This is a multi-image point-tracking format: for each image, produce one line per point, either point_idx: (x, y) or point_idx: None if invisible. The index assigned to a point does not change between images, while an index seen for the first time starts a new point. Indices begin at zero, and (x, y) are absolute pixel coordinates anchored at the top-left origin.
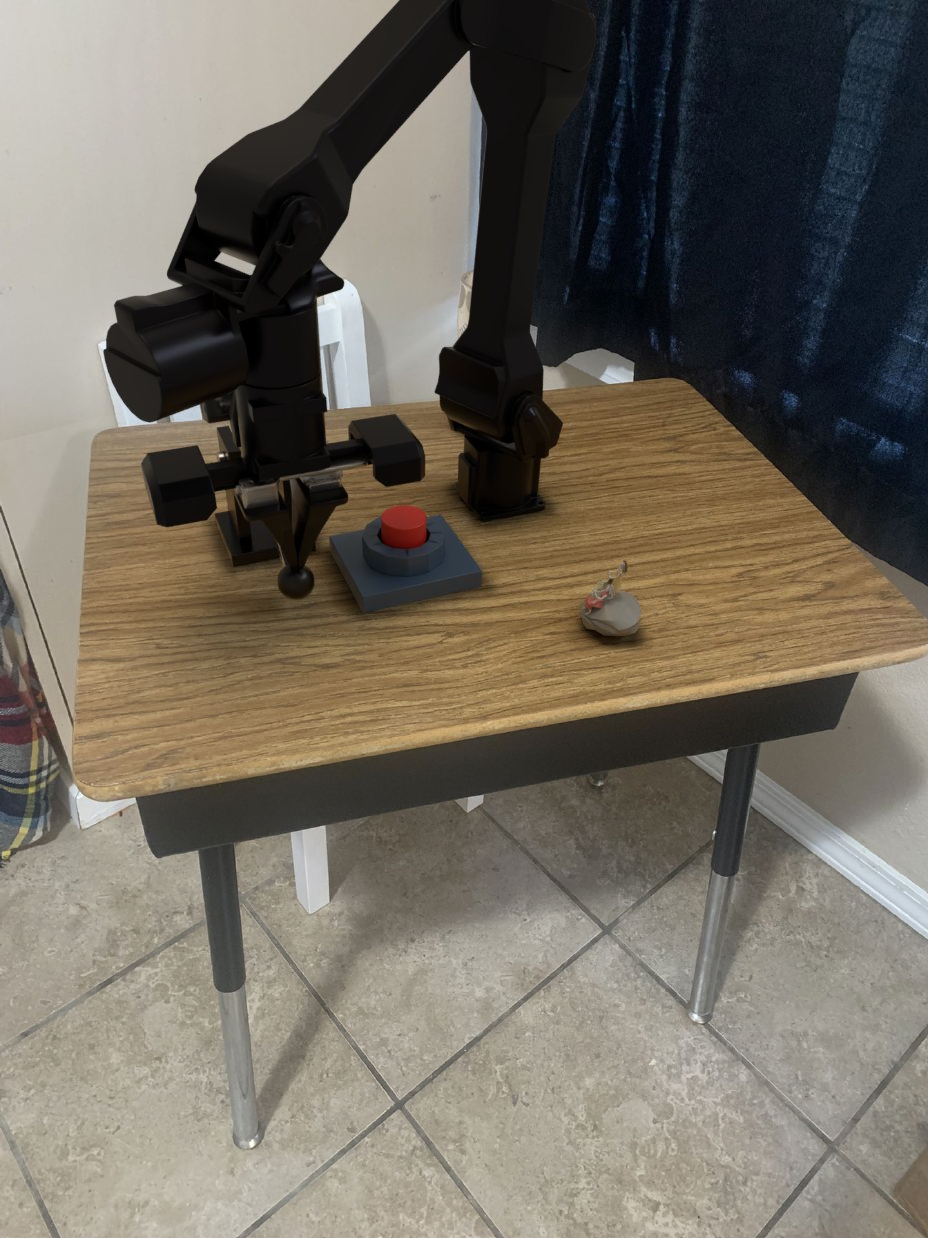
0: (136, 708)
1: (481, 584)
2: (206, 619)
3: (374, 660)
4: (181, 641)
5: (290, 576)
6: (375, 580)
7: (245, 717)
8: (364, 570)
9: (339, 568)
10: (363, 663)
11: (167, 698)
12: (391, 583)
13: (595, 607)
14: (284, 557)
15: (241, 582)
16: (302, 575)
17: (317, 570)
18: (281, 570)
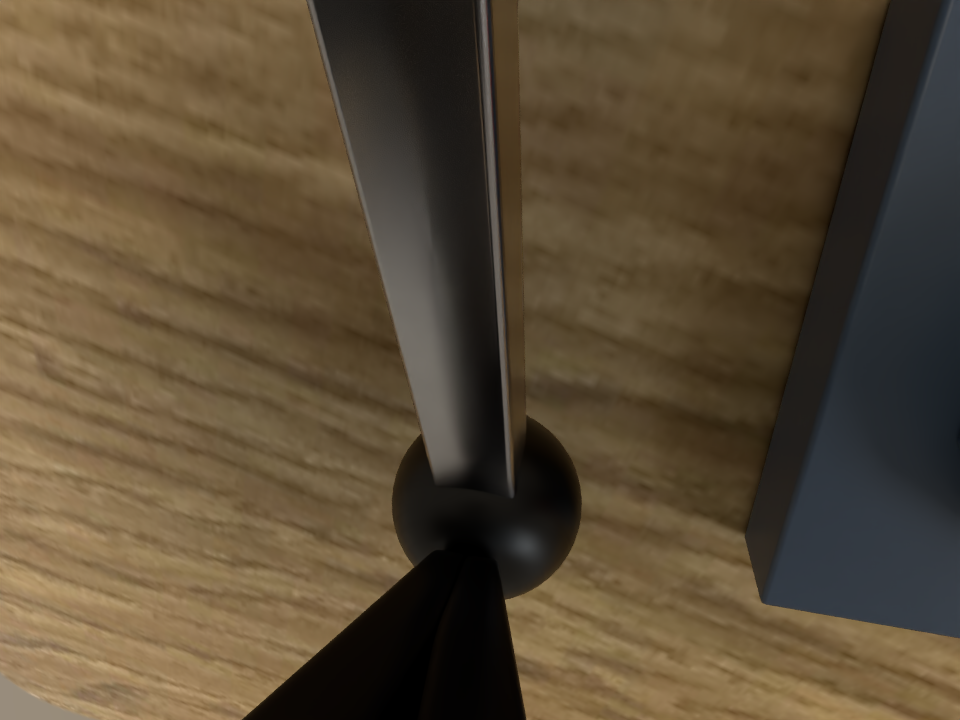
0: (32, 556)
1: None
2: (183, 300)
3: (653, 709)
4: (109, 375)
5: None
6: (897, 544)
7: (271, 691)
8: (903, 454)
9: (835, 217)
10: (615, 703)
11: (97, 562)
12: (956, 593)
13: None
14: (437, 460)
15: None
16: None
17: (722, 153)
18: (407, 504)
